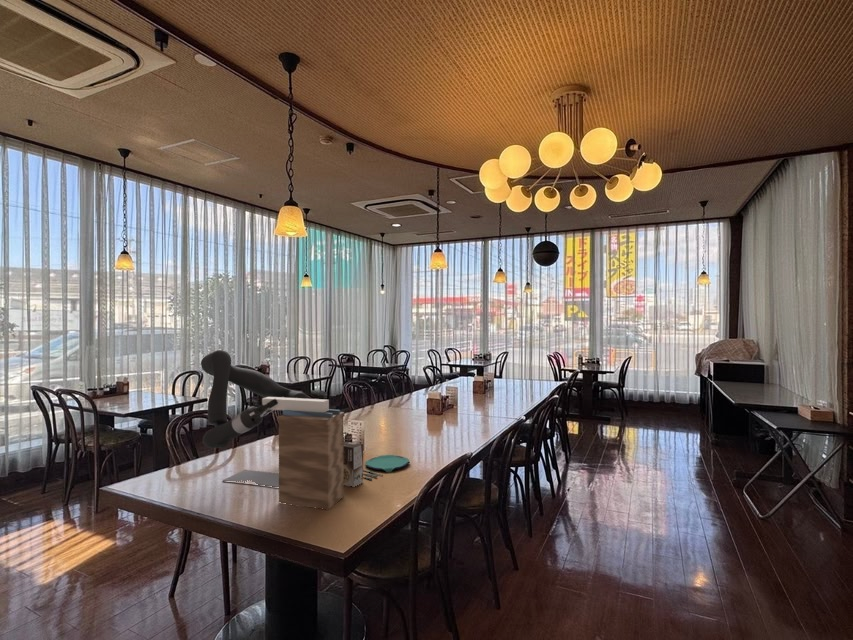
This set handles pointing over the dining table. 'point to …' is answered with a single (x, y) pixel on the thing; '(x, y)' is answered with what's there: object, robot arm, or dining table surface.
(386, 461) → the cutlery set
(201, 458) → the dining table surface
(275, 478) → the mat
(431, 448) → the dining table surface
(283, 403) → the bar
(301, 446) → the brown wooden box
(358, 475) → the grey food carton
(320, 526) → the dining table surface
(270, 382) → the robot arm
